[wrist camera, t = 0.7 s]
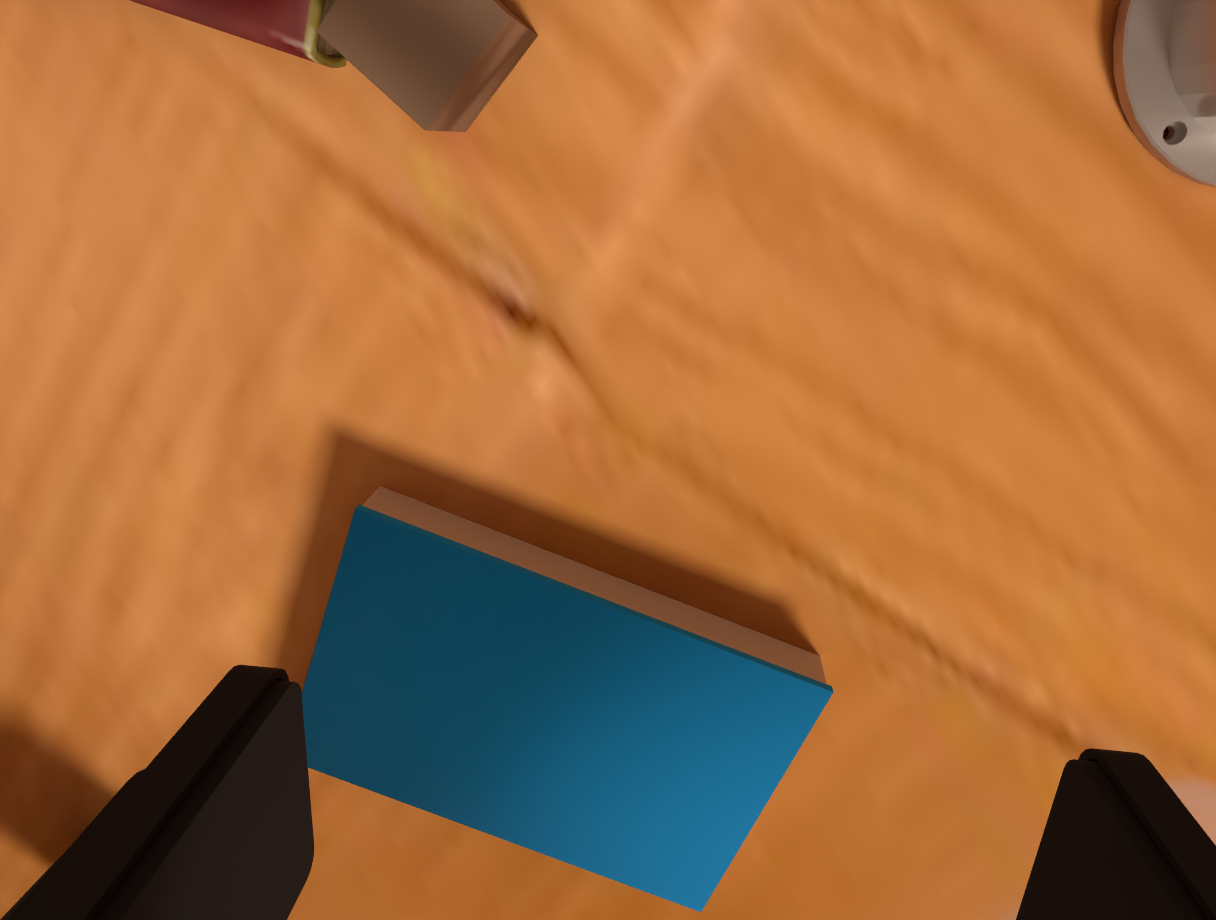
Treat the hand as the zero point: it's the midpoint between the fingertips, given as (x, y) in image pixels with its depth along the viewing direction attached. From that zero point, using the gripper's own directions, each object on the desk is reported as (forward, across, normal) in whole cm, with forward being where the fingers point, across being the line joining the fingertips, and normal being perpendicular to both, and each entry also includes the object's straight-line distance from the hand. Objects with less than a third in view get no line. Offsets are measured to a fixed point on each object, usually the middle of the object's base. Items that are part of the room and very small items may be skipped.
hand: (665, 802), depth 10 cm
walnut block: (+30, +10, -11) cm, 34 cm away
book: (+31, +5, +21) cm, 38 cm away
